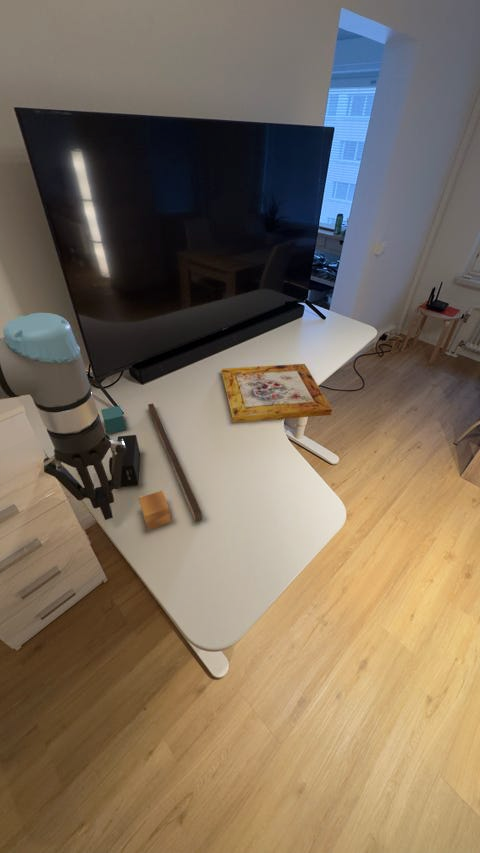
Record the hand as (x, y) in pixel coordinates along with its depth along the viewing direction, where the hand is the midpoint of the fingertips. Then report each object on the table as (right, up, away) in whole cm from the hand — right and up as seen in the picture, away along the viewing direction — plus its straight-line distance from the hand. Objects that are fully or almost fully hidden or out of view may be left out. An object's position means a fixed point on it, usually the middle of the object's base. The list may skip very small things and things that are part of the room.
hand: (107, 513), depth 67 cm
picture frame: (+36, +28, +45) cm, 64 cm away
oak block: (+8, -3, +7) cm, 11 cm away
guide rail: (+8, +9, +21) cm, 24 cm away
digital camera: (-2, +6, +17) cm, 18 cm away
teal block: (-9, +17, +29) cm, 35 cm away
